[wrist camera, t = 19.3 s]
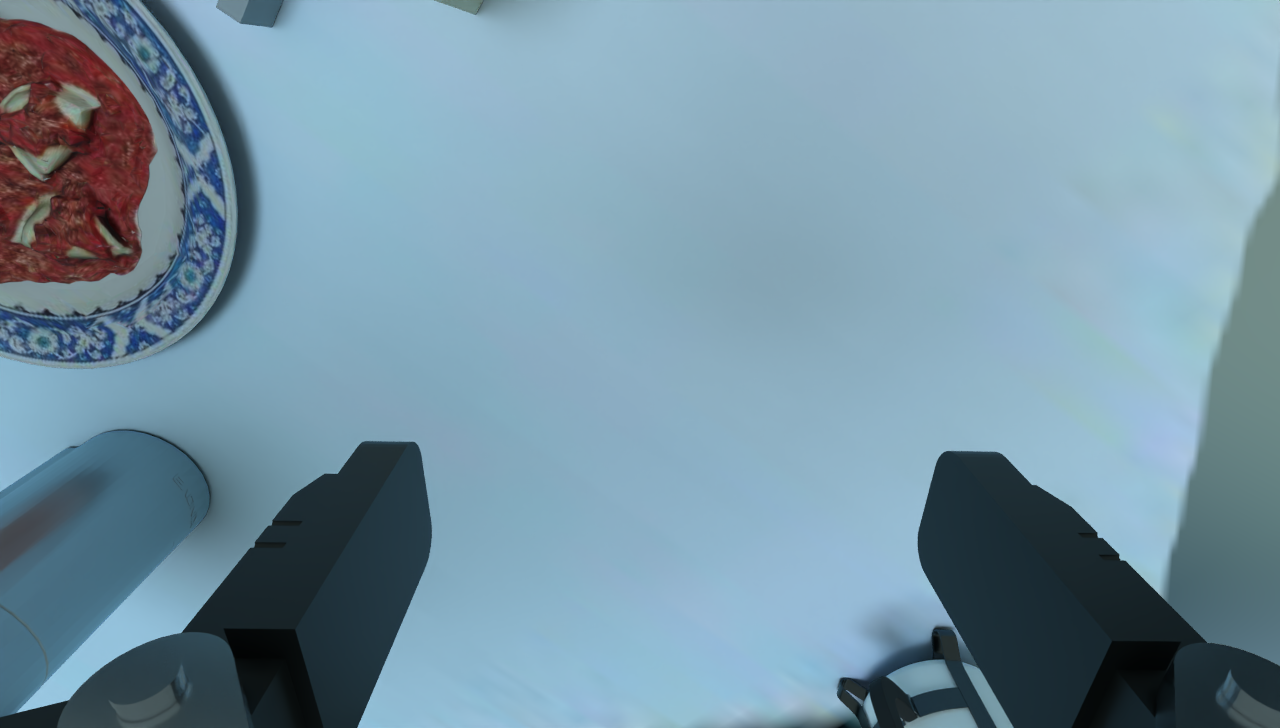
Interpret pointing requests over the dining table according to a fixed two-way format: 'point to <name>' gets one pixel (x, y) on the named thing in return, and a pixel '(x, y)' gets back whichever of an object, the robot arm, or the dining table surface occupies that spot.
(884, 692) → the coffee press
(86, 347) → the ceramic plate
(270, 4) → the rail
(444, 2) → the carton
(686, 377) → the dining table surface
